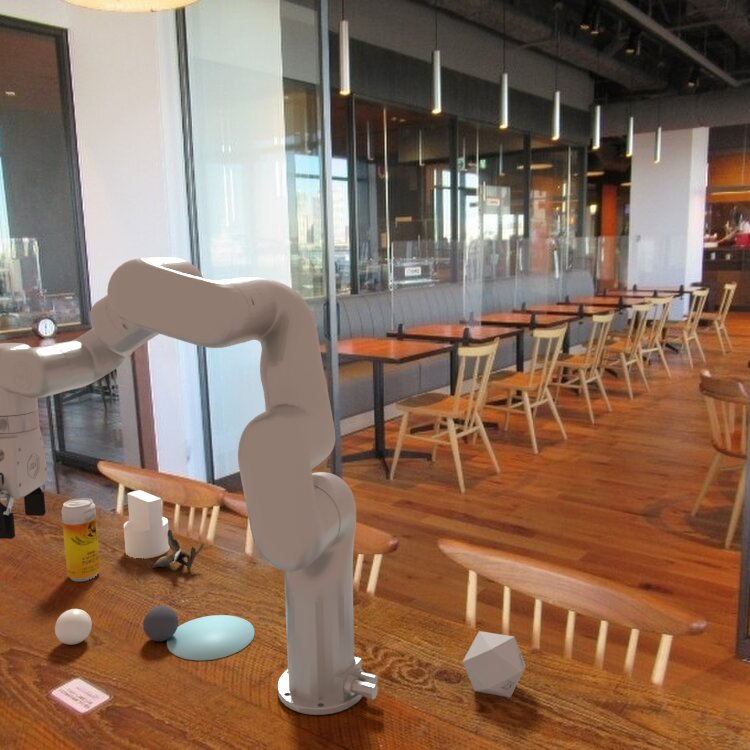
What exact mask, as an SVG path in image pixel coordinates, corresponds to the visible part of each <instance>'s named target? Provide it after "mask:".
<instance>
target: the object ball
mask: <svg viewBox="0 0 750 750" xmlns="http://www.w3.org/2000/svg"><path fill="white" fill-rule="evenodd" d="M142 627H143V631H144V634H145V635H146V636H147V637H148V638H149V639H150V640H152V641H154V642H164V641H167V639H169V638H170V637H172V636H173V635H174V633H175V632H176V630H177V627H179V616H178V614H177V613H176V611H175V610H174V609H173V608H171V607H170V606H167V605H157V606H154V607H152V608H151V609H150V610H149V611H147V613H146V614H145V616H144V619H143V623H142Z"/></svg>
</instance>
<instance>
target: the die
mask: <svg viewBox="0 0 750 750" xmlns="http://www.w3.org/2000/svg"><path fill="white" fill-rule="evenodd" d="M462 664H463V666H464V669H465V671H466V673H467V676H468V678H469V681H470V684H471V685H472V688H473V690H474V692H477V693H483V694H488V695H493V696H499V697H504V698H510V699H511V697H512V695H513V693H514V691H515V689H516V687H517V685H518V683H519V682H520V679H521V677H522V675H523V673H524V671H525V669H526V667H527V665H526V662H525V660H524V656H523V655H522V652H521V650H520V648H519V645H518V641H517V640H516V637H515V636H514V635H513V636H512V635H506V634H500V633H493V632H487V631H480V630H479V631H478V632H477V634H476V636H475V638H474V640H473V641H472V643H471V646H470V647H469V649H468V650H467V653H466V654H465V656H464V658H463V660H462Z"/></svg>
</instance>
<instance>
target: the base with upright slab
mask: <svg viewBox="0 0 750 750" xmlns="http://www.w3.org/2000/svg"><path fill="white" fill-rule="evenodd" d="M126 495H127V496H126V497H127V505H128V506H127V508H128V521H125V522H124V523H123V536H124V548H125V555H126V556H127V555H128V556H130V557H129V558H131V557H133V558H132V559H136V558H142V559H143V558H144V559H151V558H155V557H159V556H161V555H164V554H166V553H167V552H168V551H169V550H170V549H171V548H170V546H169V544H168V530H170V529H169V520H168V518H167V517H165V516H163V507H162V497H158V496H155V495H153V494H151V493H148V492H147V491H143V490H141V489H139V490H134V491H131V492H128V493H127V494H126ZM128 556H127V557H128Z"/></svg>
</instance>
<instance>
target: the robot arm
mask: <svg viewBox="0 0 750 750" xmlns="http://www.w3.org/2000/svg"><path fill="white" fill-rule="evenodd" d="M106 292H107V295H105V296H104V297H102V298H100V299H99V300H98V301H96V302H95V303H94V304H93V305H92V307H91V309H90V313H89V323H90V325H91V329H89V330H88V331H86V332H85V333H83V334H82V335H81V334H80V336H78V337H77V338H75V339H72V340H70V341H69V340H68V341H64V342H57V343H51V344H45V345H41V346H35V347H31V346H30V345H28V344H26V343H19V342H18V343H17V342H3V343H0V540H3V539H4V540H7V539H8V540H11V539H14V538H15V537H16V531H15V530H16V529H15V517H14V515H15V514H14V513H13V512H11V511H12V508H13V504H14V501H15V499H17V500H21V499H23V500H24V501H23V502H24V503H23V504H24V514H25V516H32V517H33V516H35V517H36V516H39V517H41V516H44V515H46V514H47V513H46V500H45V491H46V485H45V483H46V482H47V480H48V469H47V468H48V467H47V463H48V462H47V459H46V449H45V444H44V439H43V435H42V431H41V428H40V427H41V426H40V418H39V417H40V415H39V404H38V402H39V400H38V399H42V398H45V397H49V396H53V395H57V394H61V393H64V392H68V391H71V390H75V389H80V388H84V387H86V386H89V385H91V384H92V383H94V382H97V381H98V380H100V379H102V378H103V377H105V376H106V375H108V374H110V373H111V372H114V370H116V369H118V368H119V367H120V366H122V365H123V364H124V363H126V362H127V360H128V359H129V358H130V357H131V356H132V355H133V352H134V351H135V350H136V349H137V348H140V347H141V346H142V345H144V344H146V343H147V342H149V341H150V340H152V339H154V338H156V336H159V335H163V336H166V337H168V338H172V339H176V340H178V341H182V342H185V343H188V344H190V345H191V344H192V345H195V346H198V347H202V348H209V349H223V348H227V347H228V348H229V347H232V346H234V345H239V344H243V343H247V342H249V341H250V342H251V341H253V340H254V341H258V342H260V345H261V354H260V361H259V362H260V363H259V375H260V381H261V386H262V391H263V397H264V408H265V411H264V412H262V413H260V414H257V416H255V417H254V418H253V419H251V420H250V421H249V423H247V425H246V426H245V427H244V429H243V431H242V433H241V435H240V438H239V442H238V448H237V449H238V450H237V464H238V468H239V475H240V481H241V485H242V490H243V496H244V497H243V498H244V501H245V507H246V513H247V518H248V522H249V528H250V533H251V536H252V540H253V542H254V545H255V547H256V549H257V551H258V553H259V554H260V556H261V557H262V558H263V560H265V562H266V563H268V564H269V565H270V566H271V567H273V568H274V569H277V570H280V571H282V572H284V602H285V603H284V604H285V627H286V628H285V629H286V630H285V631H286V653H287V654H286V655H287V669H286V670H285V671H284V672H283V673H282V674H281V676H280V677H279V679H278V682H277V694H278V695H277V696H278V698H279V700H280V702H282V704H283V705H284V706H285V707H287V708H289V709H290V710H291V711H292V710H293V711H295V712H297V713H301V714H305V715H313V716H323V715H324V716H325V715H331V714H332V715H333V714H335V713H339V712H342V711H345V710H347V709H350V708H351V707H353V706H354V705H356V704H357V703H358V702H359V701H360V700H361V699H362V698H363V697H364V698H367V699H370V700H375V699H376V698H377V696H378V692H379V686H378V685H377V683H378V679H379V677H378V674H373V673H371V672H365V671H364V669H363V668H362V658H361V657H356V656H355V626H354V624H355V623H354V622H355V621H354V620H355V619H354V618H355V617H354V568H353V567H354V566H353V565H354V564H353V563H354V544H355V535H356V527H357V525H356V524H357V505H356V504H357V503H356V500H355V496H354V493H353V492H352V491H353V490H352V489H351V488H350V486H349V485H348V484H347V483H346V481H345V480H343V479H342V478H341V477H339V475H336V474H333V473H330V472H325V471H318V472H317V471H316V472H313V473H312V470H313V469H314V468H315V467H317V466H318V465H321V463H322V462H324V461H325V460H326V459H327V458H329V456H330V455H331V453H332V452H333V451H334V447H335V445H336V429H335V423H334V419H333V418H334V417H333V412H332V407H331V402H330V395H329V390H328V384H327V380H326V375H325V371H324V364H323V360H322V359H323V358H322V353H321V352H322V351H321V346H320V339H319V333H318V328H317V323H316V320H315V317H314V314H313V312H312V310H311V308H310V306H309V304H308V303H307V302H306V300H305V299H304V297H303V296H301V295H300V293H299V292H297V291H296V290H295V289H293V288H292V287H290V286H289V285H286V284H284V283H282V282H279V281H277V280H274V279H270V278H264V277H253V276H251V277H248V276H247V277H237V278H230V279H218V280H211V279H206V278H204V276H203V275H202V273H201V272H200V270H199V269H198V268H197V267H196V266H194V264H192V263H190V261H188V260H185V259H182V258H179V257H168V256H167V257H141V258H134V259H130V260H128V261H125V262H124V263H122V264H121V265H119V266H118V267H117V268H116V269H115V270H114V271H113V272H112V274H111V276H110V279H109V281H108V284H107V291H106ZM1 501H5V503H4V504H3V503H2V502H1Z"/></svg>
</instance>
